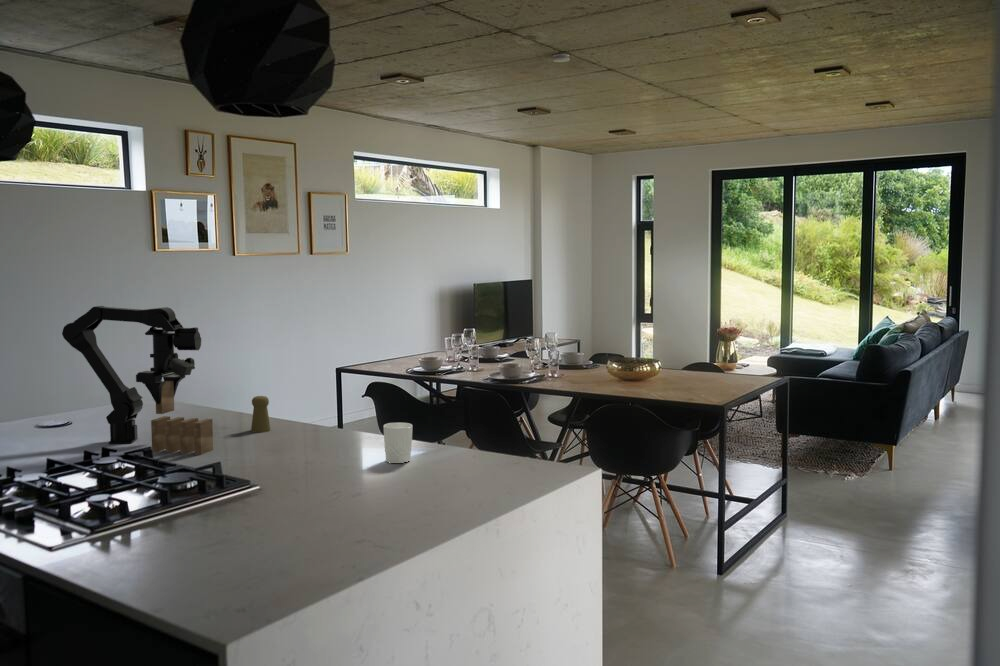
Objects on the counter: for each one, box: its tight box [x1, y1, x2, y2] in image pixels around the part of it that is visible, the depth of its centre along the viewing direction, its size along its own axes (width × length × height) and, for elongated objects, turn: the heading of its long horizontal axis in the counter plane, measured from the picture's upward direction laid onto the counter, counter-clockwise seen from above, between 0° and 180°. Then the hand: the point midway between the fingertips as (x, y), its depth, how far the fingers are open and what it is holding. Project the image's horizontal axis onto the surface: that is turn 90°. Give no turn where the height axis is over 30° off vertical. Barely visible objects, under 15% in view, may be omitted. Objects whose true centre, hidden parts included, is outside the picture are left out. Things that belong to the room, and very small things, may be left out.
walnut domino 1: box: [155, 381, 175, 415], centre depth 237 cm, size 2×6×9 cm, turn 168°
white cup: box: [383, 422, 413, 464], centre depth 219 cm, size 8×8×10 cm
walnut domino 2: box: [150, 415, 171, 453], centre depth 229 cm, size 2×6×9 cm, turn 168°
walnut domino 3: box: [165, 416, 185, 454], centre depth 228 cm, size 2×6×9 cm, turn 168°
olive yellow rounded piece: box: [250, 395, 271, 433], centre depth 255 cm, size 6×6×11 cm
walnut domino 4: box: [179, 417, 199, 455], centre depth 227 cm, size 2×6×9 cm, turn 168°
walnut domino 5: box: [194, 418, 214, 456], centre depth 226 cm, size 2×6×9 cm, turn 168°
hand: (164, 402), depth 238 cm, fingers closed on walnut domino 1, 6 cm apart
